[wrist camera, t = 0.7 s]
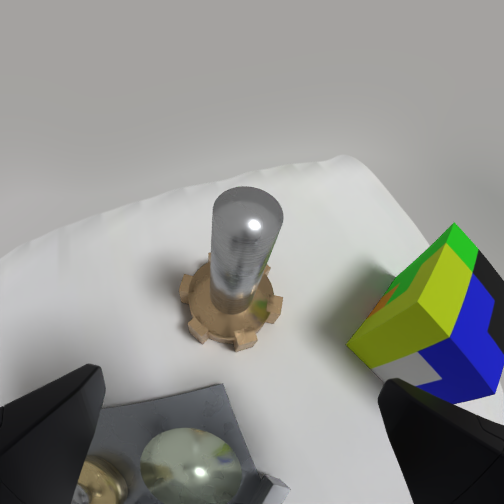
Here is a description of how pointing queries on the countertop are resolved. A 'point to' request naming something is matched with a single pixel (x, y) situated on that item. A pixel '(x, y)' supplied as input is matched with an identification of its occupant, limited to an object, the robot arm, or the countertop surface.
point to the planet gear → (236, 271)
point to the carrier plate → (173, 455)
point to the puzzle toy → (439, 323)
